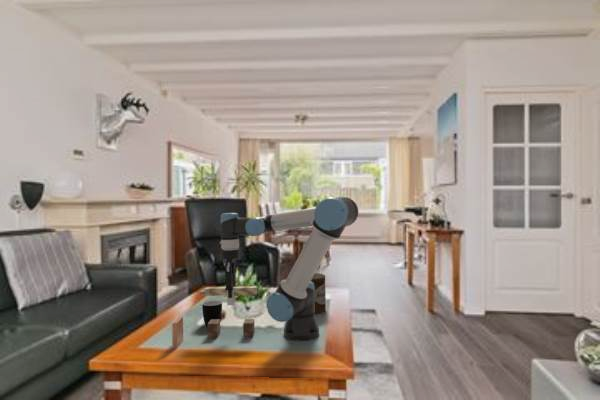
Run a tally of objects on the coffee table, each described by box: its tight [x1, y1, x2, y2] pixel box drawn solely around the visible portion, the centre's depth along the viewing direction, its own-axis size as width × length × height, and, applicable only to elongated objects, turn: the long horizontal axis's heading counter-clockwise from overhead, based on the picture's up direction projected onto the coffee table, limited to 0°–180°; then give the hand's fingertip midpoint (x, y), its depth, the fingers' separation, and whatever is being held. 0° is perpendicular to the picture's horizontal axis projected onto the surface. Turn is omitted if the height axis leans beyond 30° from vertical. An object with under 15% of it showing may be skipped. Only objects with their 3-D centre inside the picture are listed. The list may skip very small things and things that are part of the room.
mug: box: [201, 299, 223, 327], centre depth 189 cm, size 12×9×10 cm
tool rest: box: [207, 318, 256, 339], centre depth 173 cm, size 19×6×6 cm, turn 90°
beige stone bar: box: [198, 285, 258, 297], centre depth 173 cm, size 24×5×3 cm, turn 90°
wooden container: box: [311, 272, 327, 316], centre depth 208 cm, size 15×15×22 cm
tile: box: [171, 316, 184, 349], centre depth 163 cm, size 2×8×10 cm, turn 0°
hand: (231, 303), depth 173 cm, fingers closed on beige stone bar, 3 cm apart
